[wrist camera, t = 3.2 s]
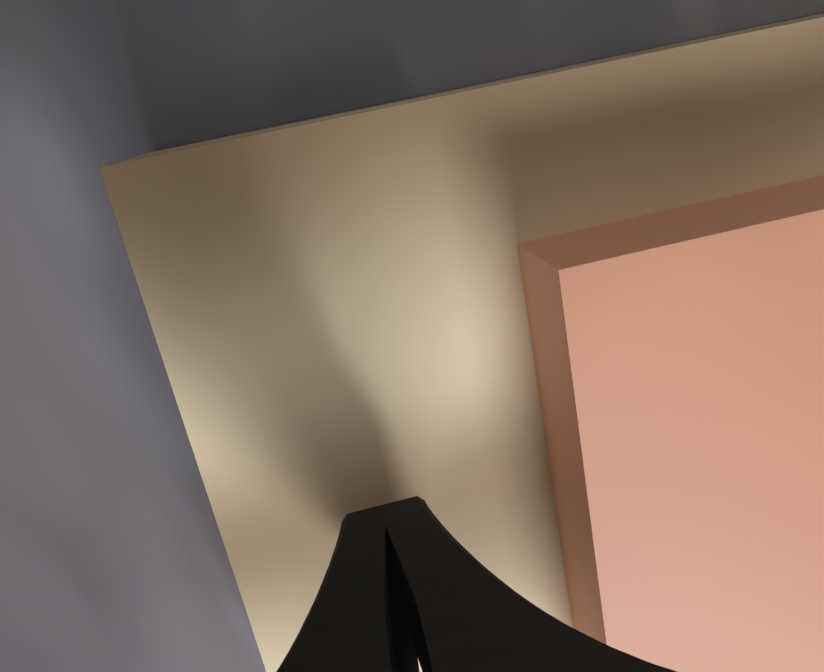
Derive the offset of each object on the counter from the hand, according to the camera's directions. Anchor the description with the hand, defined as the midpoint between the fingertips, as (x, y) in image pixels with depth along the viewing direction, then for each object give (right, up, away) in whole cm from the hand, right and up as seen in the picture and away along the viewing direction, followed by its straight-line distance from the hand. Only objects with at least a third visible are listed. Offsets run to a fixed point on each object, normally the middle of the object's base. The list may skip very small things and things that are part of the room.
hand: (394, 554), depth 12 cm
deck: (+4, +3, +5) cm, 7 cm away
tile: (+6, +2, +1) cm, 6 cm away
